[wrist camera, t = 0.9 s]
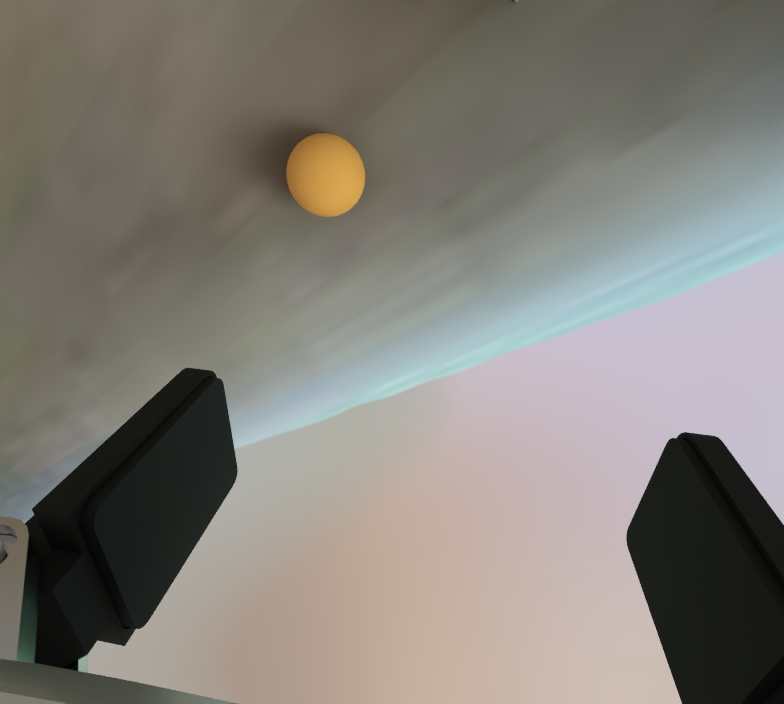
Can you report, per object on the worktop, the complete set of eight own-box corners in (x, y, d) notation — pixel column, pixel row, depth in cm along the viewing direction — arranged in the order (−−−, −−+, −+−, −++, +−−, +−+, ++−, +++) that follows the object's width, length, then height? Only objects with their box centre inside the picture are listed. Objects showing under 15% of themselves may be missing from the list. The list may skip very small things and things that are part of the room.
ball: (338, 113, 29) (315, 115, 25) (386, 177, 31) (372, 190, 26) (286, 164, 31) (257, 174, 27) (334, 222, 33) (313, 240, 28)
